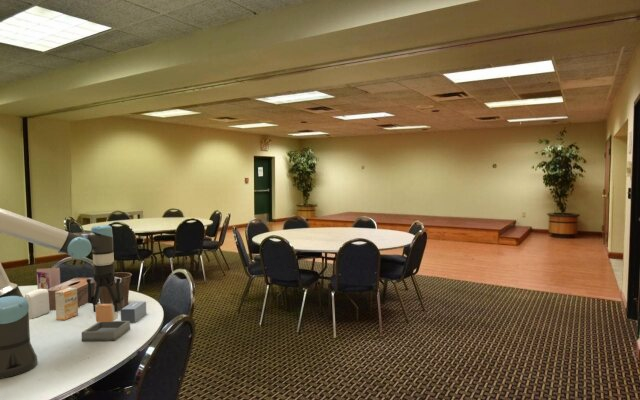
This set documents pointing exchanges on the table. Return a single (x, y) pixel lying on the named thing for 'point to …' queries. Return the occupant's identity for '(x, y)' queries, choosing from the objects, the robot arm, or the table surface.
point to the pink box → (48, 278)
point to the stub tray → (106, 331)
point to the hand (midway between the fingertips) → (106, 319)
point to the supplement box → (66, 303)
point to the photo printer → (38, 302)
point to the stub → (104, 313)
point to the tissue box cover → (73, 283)
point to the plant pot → (106, 297)
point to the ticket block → (133, 311)
